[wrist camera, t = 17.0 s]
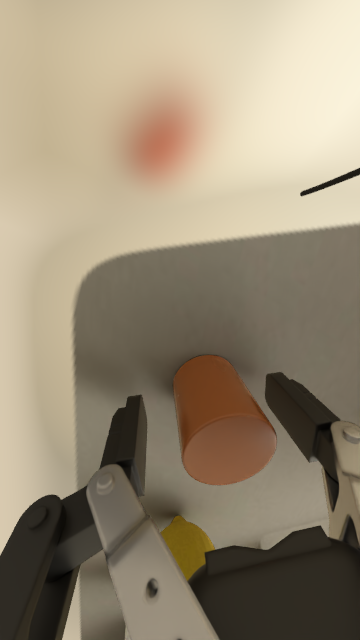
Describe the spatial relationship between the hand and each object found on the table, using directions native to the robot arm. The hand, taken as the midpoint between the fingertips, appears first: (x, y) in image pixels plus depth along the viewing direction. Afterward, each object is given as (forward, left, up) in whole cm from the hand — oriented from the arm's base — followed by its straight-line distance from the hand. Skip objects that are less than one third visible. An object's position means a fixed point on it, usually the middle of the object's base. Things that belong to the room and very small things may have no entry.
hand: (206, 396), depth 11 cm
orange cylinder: (0, 0, -1) cm, 1 cm away
